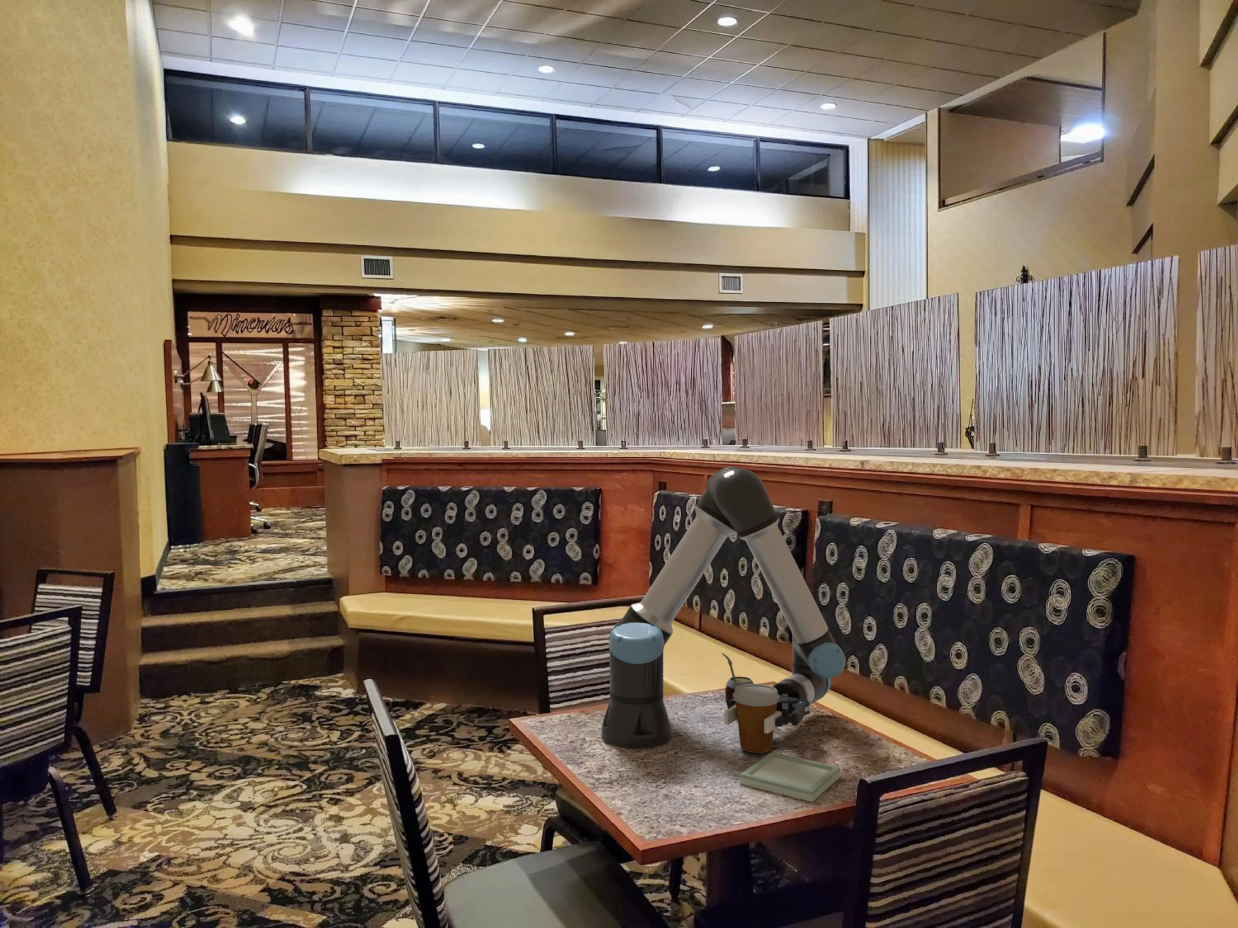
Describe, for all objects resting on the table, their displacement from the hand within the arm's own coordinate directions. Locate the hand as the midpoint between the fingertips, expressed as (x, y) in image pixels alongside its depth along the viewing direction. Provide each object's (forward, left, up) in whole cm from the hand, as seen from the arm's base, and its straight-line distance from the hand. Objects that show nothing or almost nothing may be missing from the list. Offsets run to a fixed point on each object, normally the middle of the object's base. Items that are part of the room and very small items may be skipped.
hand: (745, 721), depth 165 cm
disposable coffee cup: (0, +5, -7) cm, 8 cm away
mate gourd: (-14, +25, -8) cm, 29 cm away
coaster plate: (+12, -5, -7) cm, 15 cm away
